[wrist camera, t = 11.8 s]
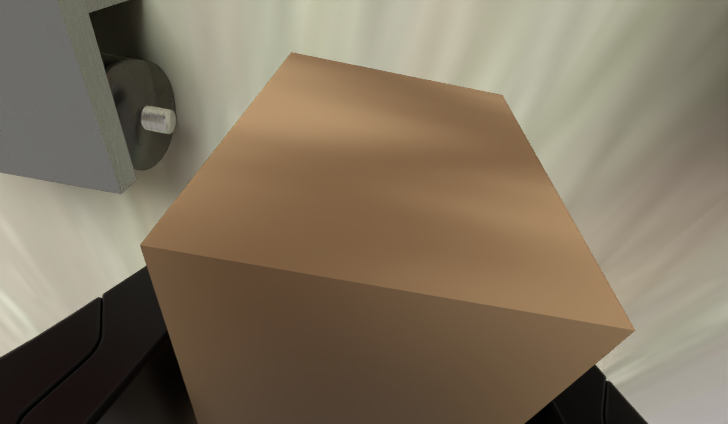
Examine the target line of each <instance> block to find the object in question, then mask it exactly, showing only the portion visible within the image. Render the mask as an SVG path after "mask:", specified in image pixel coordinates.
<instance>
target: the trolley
mask: <svg viewBox="0 0 728 424" xmlns="http://www.w3.org/2000/svg"><path fill="white" fill-rule="evenodd" d="M124 1H128V0H0V172H1V173H7V174H12V175H18V176H24V177H29V178H35V179H40V180H46V181H52V182H57V183H63V184H68V185H74V186H79V187H85V188H91V189H96V190H102V191H107V192H113V193H119V194H122V193H123V192H124V191H125V190H126V189H127V188H128V187H129V186H130V185H131V184H132V183H133V182H134V181H135V180H136V176H135V172H134V169H136V170H147V169H150V168H152V167H153V166H155V165H156V164H157V163H158V162H159V161H160V160H161V159H162V157H163V156H164V154H165V153H166V151H167V149H168V146H169V144H170V141H171V138H172V134H173V131H174V129H175V125H176V116H175V103H174V96H173V92H172V88H171V85H170V83H169V80H168V78H167V76H166V75H165V73H164V72H163V71H162V69H161V68H160V67H158V66H157V65H156V64H154V63H152V62H148V61H143V60H138V59H133V58H128V57H123V56H118V55H112V54H107V53H102V52H100V51H99V48H98V44H97V41H96V37H95V34H94V30H93V27H92V24H91V20H90V17H89V13H90V12H93V11H96V10H99V9H103V8H106V7H109V6H112V5H115V4H118V3H121V2H124Z"/></svg>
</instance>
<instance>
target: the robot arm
mask: <svg viewBox="0 0 728 424" xmlns="http://www.w3.org/2000/svg"><path fill="white" fill-rule="evenodd" d="M0 424H198V423H197V420H196V416H195V413H194V410H193V407H192V404H191V401H190V398H189V395H188V392H187V389H186V386H185V382H184V379H183V376H182V373H181V370H180V367H179V364H178V361H177V358H176V355H175V352H174V348H173V345H172V342H171V339H170V336H169V333H168V330H167V327H166V324H165V321H164V318H163V314H162V311H161V308H160V305H159V302H158V299H157V296H156V293H155V290H154V287H153V284H152V280H151V277H150V274H149V271H148V268H147V266H145V267H144V268H142V269H141V270H139V271H138V272H136V273H135V274H133V275H131V276H130V277H128V278H127V279H125V280H124V281H122V282H121V283H119V284H118V285H116V286H115V287H113V288H112V289H110V290H109V291H107V292H105V293H104V294H103V296H102V298H100V297H98V298H96V299H94V300H93V301H91V302H90V303H88V304H87V305H85V306H84V307H82V308H81V309H79V310H78V311H76V312H75V313H73V314H71V315H70V316H68V317H67V318H65V319H63V320H62V321H60V322H59V323H57V324H55V325H54V326H52V327H51V328H49V329H47V330H46V331H44V332H43V333H41V334H39V335H38V336H36V337H35V338H33V339H31V340H29V341H28V342H26V343H24V344H23V345H21V346H19V347H17V348H16V349H14V350H12V351H10V352H9V353H7V354H5V355H4V356H2V357H0ZM525 424H648V423H647V422H646V421H645V420H644V419H643V418H642V416H641V415H640V414H639V413H638V412H637V411H636V410H635V409H634V408H633V407H632V405H631V404H630V403H629V402H628V401H627V400H626V399H625V398H624V396H623V395H622V394H621V393H620V392H619V391H618V390H617V388H616V387H615V386H614V385H613V384H612V383H611V382H610V381H606V376H605V375H604V374H603V373H602V372H601V370H600V369H599V368H598V367H597V366H596V365H594V366H592V367H591V368H590V369H589V370H588V371H586V372H585V373H584V374H583V375H582V376H580V377H579V378H578V379H577V380H576V381H575V382H573V383H572V384H571V385H570V386H569V387H567V388H566V389H565V390H564V391H563V392H561V393H560V394H559V395H558V396H557V397H556V398H554V399H553V400H552V401H551V402H550V403H548V404H547V405H546V406H545V407H544V408H542V409H541V410H540V411H539V412H538V413H537V414H535V415H534V416H533V417H532V418H531V419H529V420H528V421H527V422H526V423H525Z"/></svg>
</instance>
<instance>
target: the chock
mask: <svg viewBox="0 0 728 424" xmlns="http://www.w3.org/2000/svg"><path fill="white" fill-rule="evenodd" d="M140 246H141V250H142V253H143V256H144V259H145V262H146V265H147V268H148V271H149V274H150V277H151V280H152V284H153V287H154V290H155V293H156V296H157V299H158V302H159V305H160V308H161V311H162V314H163V318H164V321H165V324H166V327H167V330H168V333H169V336H170V339H171V342H172V345H173V348H174V352H175V355H176V358H177V361H178V364H179V367H180V370H181V373H182V376H183V379H184V382H185V386H186V389H187V392H188V395H189V398H190V401H191V404H192V407H193V410H194V413H195V416H196V420H197V423H198V424H525V423H526V422H527V421H528V420H529V419H531V418H532V417H533V416H534V415H535V414H537V413H538V412H539V411H540V410H541V409H542V408H544V407H545V406H546V405H547V404H548V403H550V402H551V401H552V400H553V399H554V398H556V397H557V396H558V395H559V394H560V393H561V392H563V391H564V390H565V389H566V388H567V387H569V386H570V385H571V384H572V383H573V382H575V381H576V380H577V379H578V378H579V377H580V376H582V375H583V374H584V373H585V372H586V371H588V370H589V369H590V368H591V367H592V366H594V365H595V364H596V363H597V362H598V361H600V360H601V359H602V358H603V357H604V356H605V355H607V354H608V353H609V352H610V351H611V350H613V349H614V348H615V347H616V346H617V345H619V344H620V343H621V342H622V341H623V340H624V339H626V338H627V337H628V336H629V335H630V334H632V333H633V332H634V331H635V329H634V327H633V326H632V324H631V322H630V320H629V319H628V317H627V315H626V313H625V311H624V310H623V308H622V306H621V304H620V303H619V301H618V299H617V297H616V296H615V294H614V292H613V290H612V288H611V287H610V285H609V283H608V281H607V280H606V278H605V276H604V274H603V272H602V271H601V269H600V267H599V265H598V264H597V262H596V260H595V258H594V257H593V255H592V253H591V251H590V249H589V248H588V246H587V244H586V242H585V241H584V239H583V237H582V235H581V234H580V232H579V230H578V228H577V226H576V225H575V223H574V221H573V219H572V218H571V216H570V214H569V212H568V211H567V209H566V207H565V205H564V203H563V202H562V200H561V198H560V196H559V195H558V193H557V191H556V189H555V188H554V186H553V184H552V182H551V180H550V179H549V177H548V175H547V173H546V172H545V170H544V168H543V166H542V164H541V163H540V161H539V159H538V157H537V156H536V154H535V152H534V150H533V149H532V147H531V145H530V143H529V141H528V140H527V138H526V136H525V134H524V133H523V131H522V129H521V127H520V126H519V124H518V122H517V120H516V118H515V117H514V115H513V113H512V111H511V110H510V108H509V106H508V104H507V103H506V101H505V99H504V97H503V95H499V94H494V93H489V92H484V91H480V90H475V89H470V88H465V87H460V86H455V85H450V84H445V83H440V82H435V81H430V80H425V79H420V78H415V77H410V76H405V75H401V74H396V73H391V72H386V71H381V70H376V69H371V68H366V67H361V66H356V65H351V64H346V63H341V62H336V61H331V60H326V59H322V58H317V57H312V56H307V55H302V54H297V53H292V52H291V54H290V55H289V56H288V57H287V59H286V60H285V61H284V62H283V64H282V65H281V66H280V68H279V69H278V70H277V71H276V73H275V74H274V75H273V76H272V78H271V79H270V80H269V82H268V83H267V84H266V85H265V87H264V88H263V89H262V90H261V92H260V93H259V94H258V96H257V97H256V98H255V99H254V101H253V102H252V103H251V104H250V106H249V107H248V108H247V110H246V111H245V112H244V113H243V115H242V116H241V117H240V118H239V120H238V121H237V122H236V124H235V125H234V126H233V127H232V129H231V130H230V131H229V132H228V134H227V135H226V136H225V138H224V139H223V140H222V141H221V143H220V144H219V145H218V147H217V148H216V149H215V150H214V152H213V153H212V154H211V155H210V157H209V158H208V159H207V161H206V162H205V163H204V164H203V166H202V167H201V168H200V169H199V171H198V172H197V173H196V175H195V176H194V177H193V178H192V180H191V181H190V182H189V183H188V185H187V186H186V187H185V189H184V190H183V191H182V192H181V194H180V195H179V196H178V197H177V199H176V200H175V201H174V203H173V204H172V205H171V206H170V208H169V209H168V210H167V211H166V213H165V214H164V215H163V217H162V218H161V219H160V220H159V222H158V223H157V224H156V225H155V227H154V228H153V229H152V231H151V232H150V233H149V234H148V236H147V237H146V238H145V239H144V241H143V242H142V243H141V245H140Z"/></svg>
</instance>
